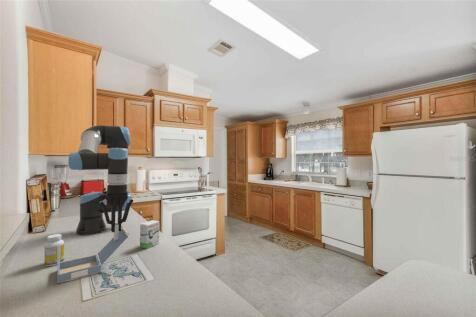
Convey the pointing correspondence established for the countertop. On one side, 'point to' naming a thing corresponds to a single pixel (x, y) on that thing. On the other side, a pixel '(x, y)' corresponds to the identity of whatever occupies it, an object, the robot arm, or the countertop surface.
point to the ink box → (149, 234)
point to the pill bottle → (54, 250)
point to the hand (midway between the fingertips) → (115, 239)
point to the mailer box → (77, 268)
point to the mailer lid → (112, 245)
